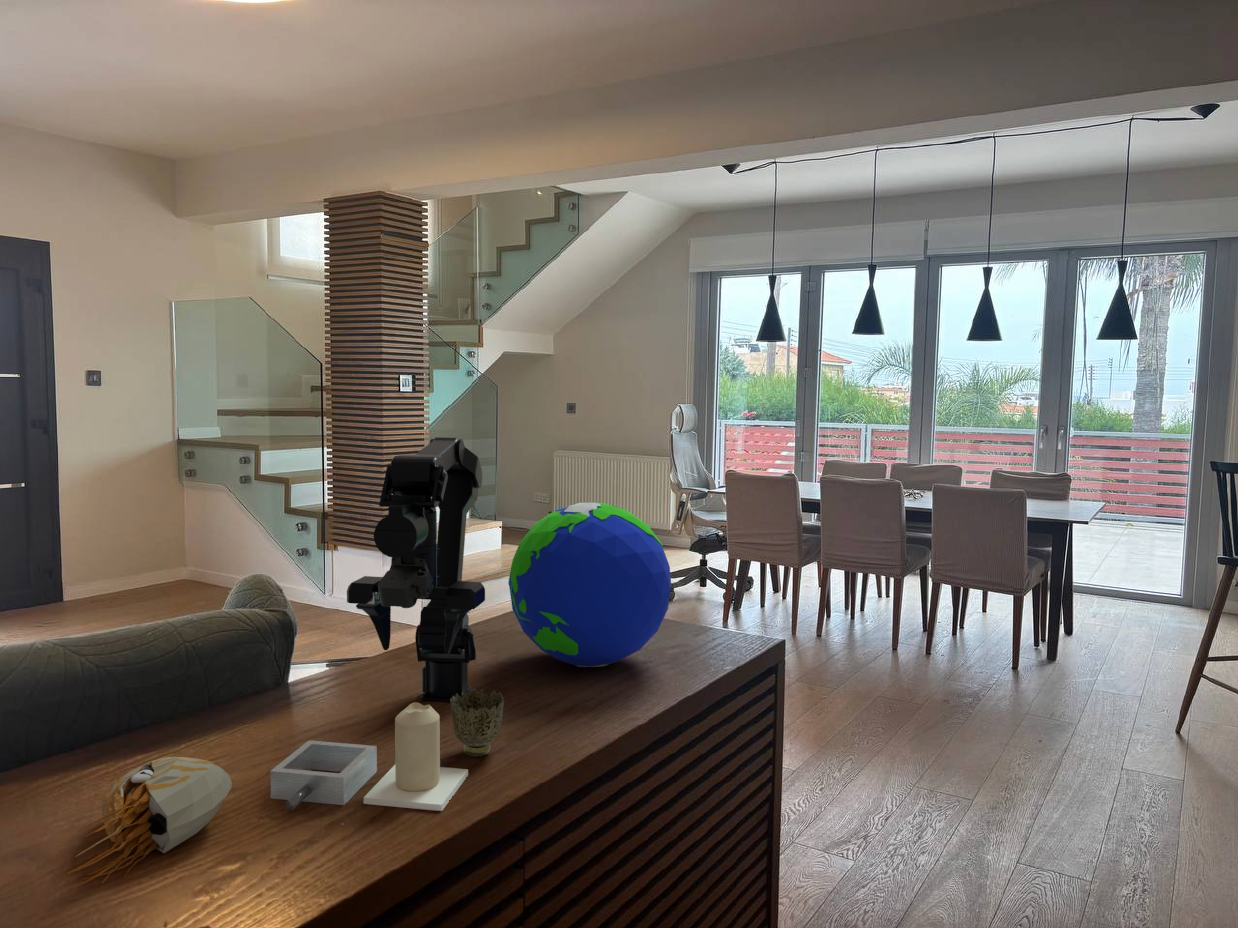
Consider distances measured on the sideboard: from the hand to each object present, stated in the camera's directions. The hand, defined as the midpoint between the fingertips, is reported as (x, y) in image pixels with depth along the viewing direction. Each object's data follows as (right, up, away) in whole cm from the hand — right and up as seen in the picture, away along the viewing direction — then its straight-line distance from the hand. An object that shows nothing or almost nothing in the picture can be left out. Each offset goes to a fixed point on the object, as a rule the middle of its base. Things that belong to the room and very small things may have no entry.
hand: (416, 651), depth 128 cm
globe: (+24, -10, +37) cm, 45 cm away
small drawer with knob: (-9, -14, -16) cm, 23 cm away
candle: (+3, -14, -14) cm, 20 cm away
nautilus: (-24, -16, -29) cm, 40 cm away
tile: (+3, -15, -14) cm, 21 cm away
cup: (+9, -14, -3) cm, 17 cm away
